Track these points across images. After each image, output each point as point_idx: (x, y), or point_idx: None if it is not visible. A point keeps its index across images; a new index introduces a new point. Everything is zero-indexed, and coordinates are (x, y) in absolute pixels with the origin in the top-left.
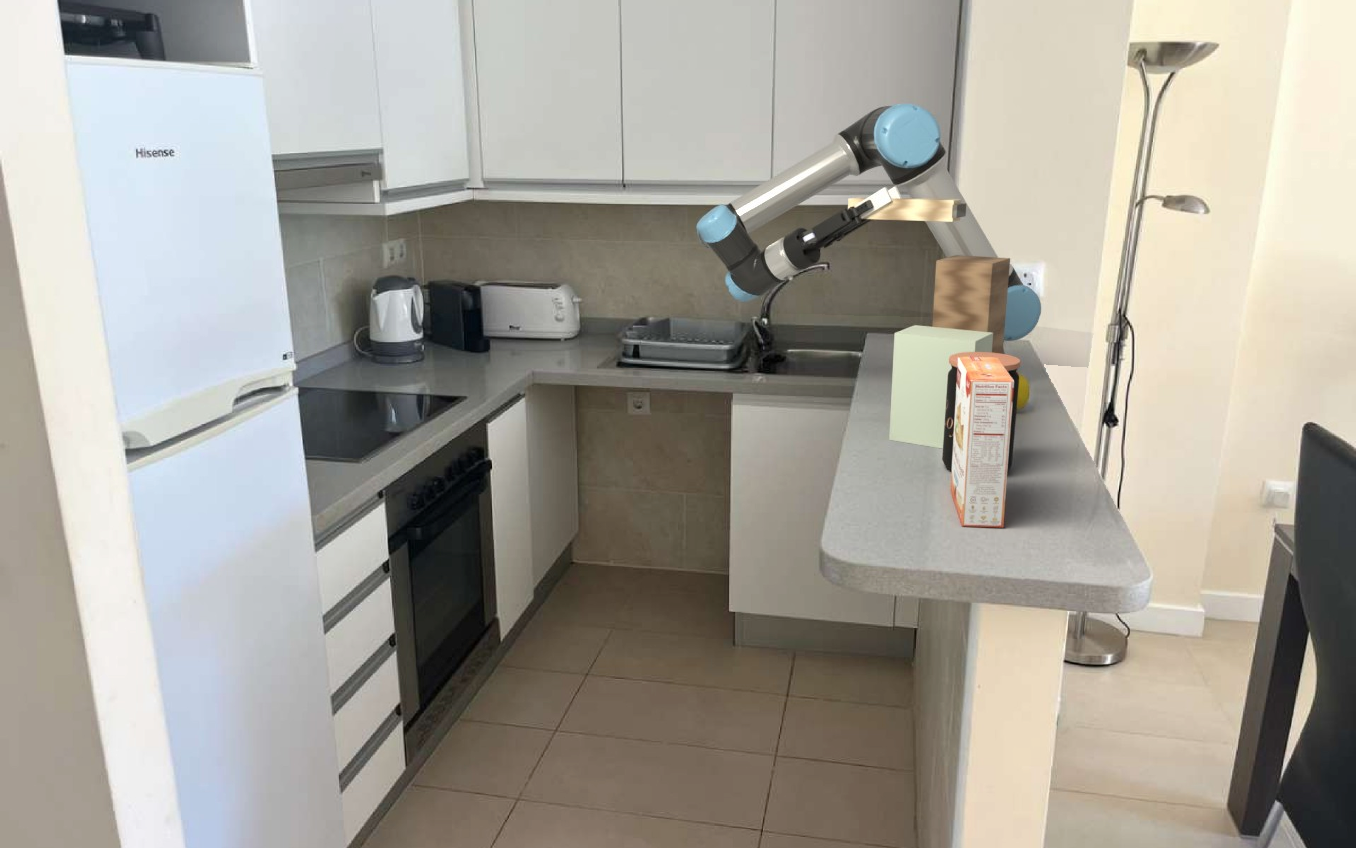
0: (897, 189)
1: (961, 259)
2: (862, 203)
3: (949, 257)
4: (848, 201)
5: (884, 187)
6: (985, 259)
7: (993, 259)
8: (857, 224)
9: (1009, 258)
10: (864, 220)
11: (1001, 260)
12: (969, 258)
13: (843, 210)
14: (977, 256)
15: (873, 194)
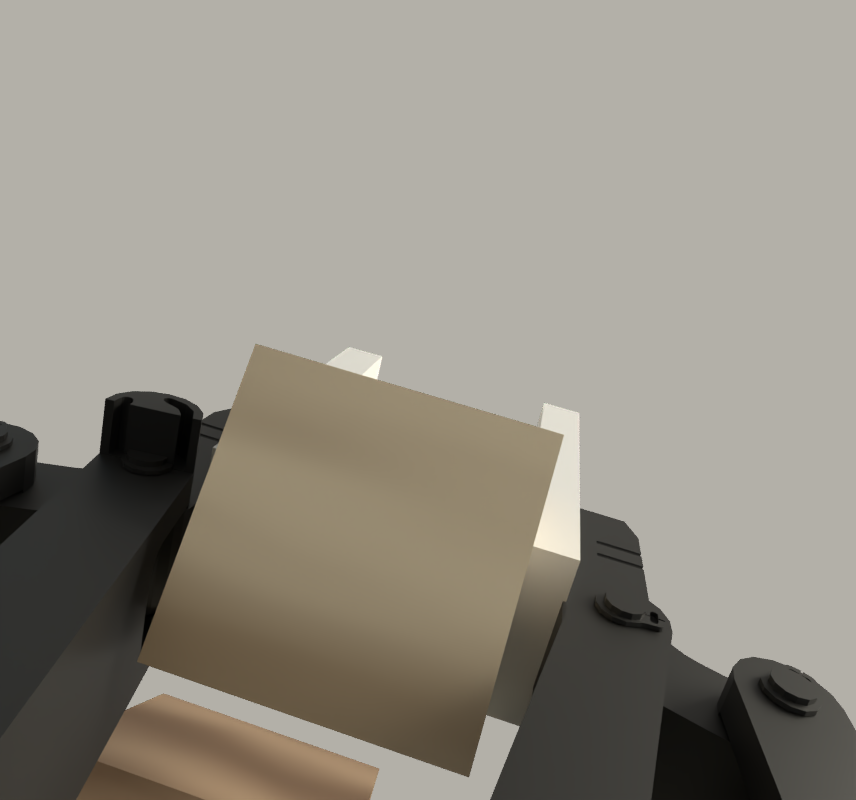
0: None
1: (259, 782)
2: (640, 561)
3: (176, 786)
4: (548, 484)
5: (578, 415)
6: (232, 740)
7: (224, 728)
8: (79, 786)
9: (173, 697)
10: (133, 685)
11: (251, 726)
12: (205, 756)
13: (828, 712)
14: None
15: (578, 457)
